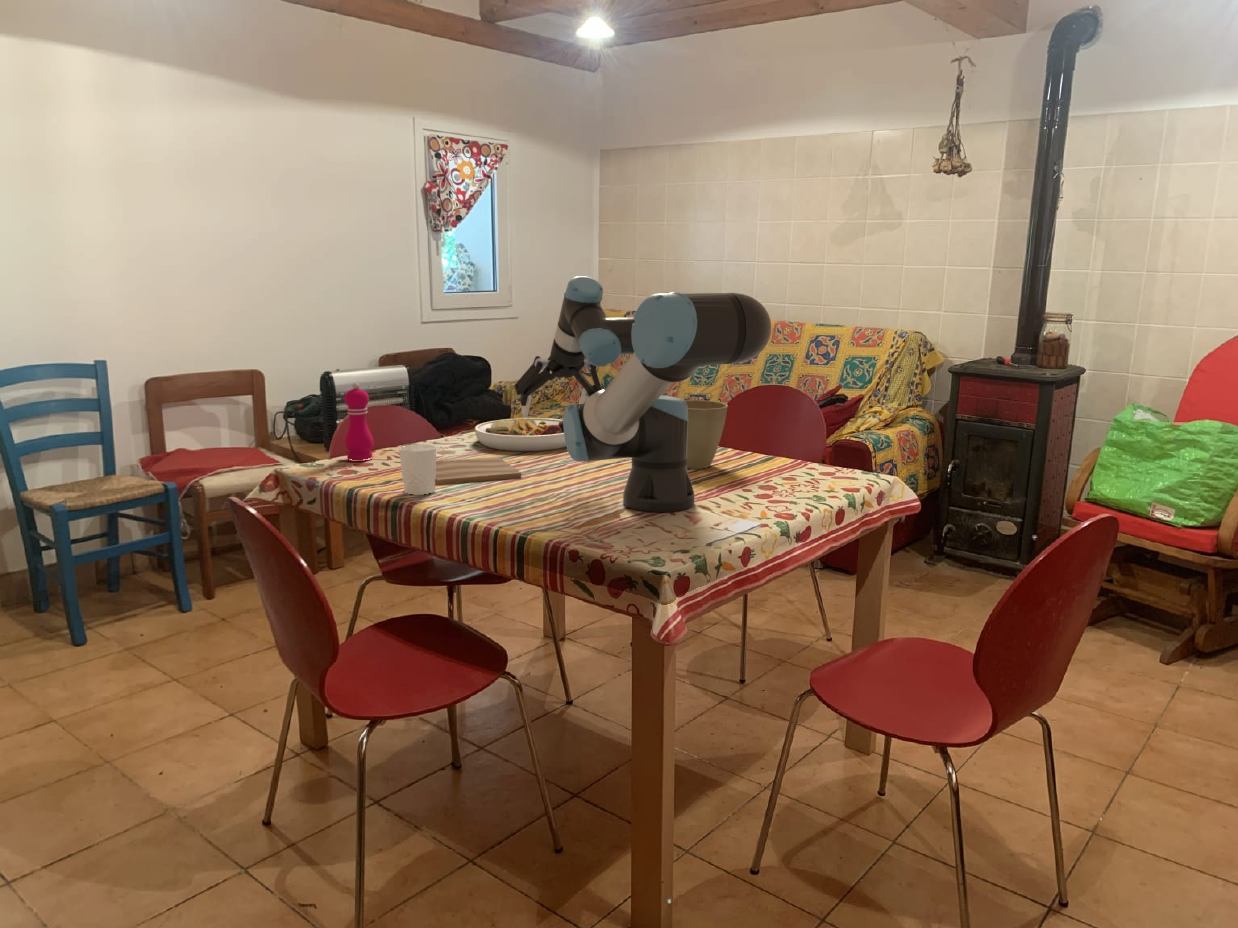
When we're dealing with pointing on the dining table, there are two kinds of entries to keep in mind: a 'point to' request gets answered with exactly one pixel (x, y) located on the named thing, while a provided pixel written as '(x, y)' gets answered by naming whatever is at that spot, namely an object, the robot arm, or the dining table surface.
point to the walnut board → (474, 470)
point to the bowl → (522, 434)
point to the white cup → (418, 468)
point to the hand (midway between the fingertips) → (552, 413)
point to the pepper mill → (358, 425)
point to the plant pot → (704, 431)
